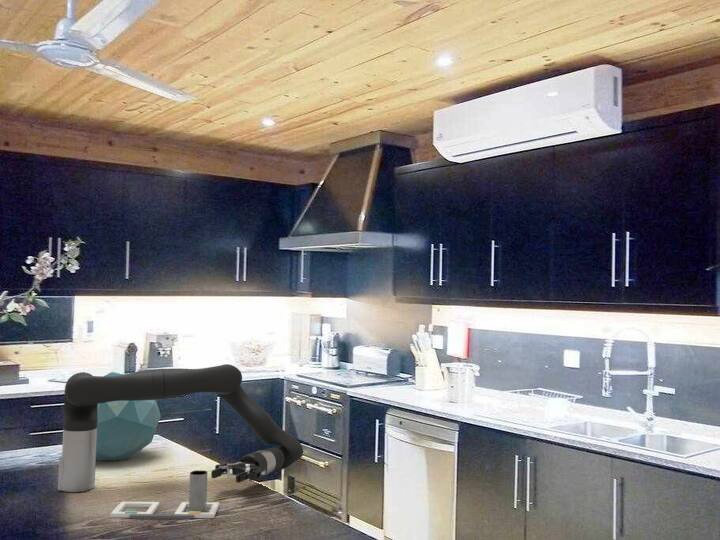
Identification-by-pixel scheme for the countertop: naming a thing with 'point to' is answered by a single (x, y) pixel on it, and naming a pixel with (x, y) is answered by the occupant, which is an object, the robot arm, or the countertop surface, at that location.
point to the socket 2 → (198, 514)
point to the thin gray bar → (161, 517)
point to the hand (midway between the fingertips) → (224, 476)
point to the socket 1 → (119, 514)
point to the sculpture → (125, 427)
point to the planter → (198, 491)
